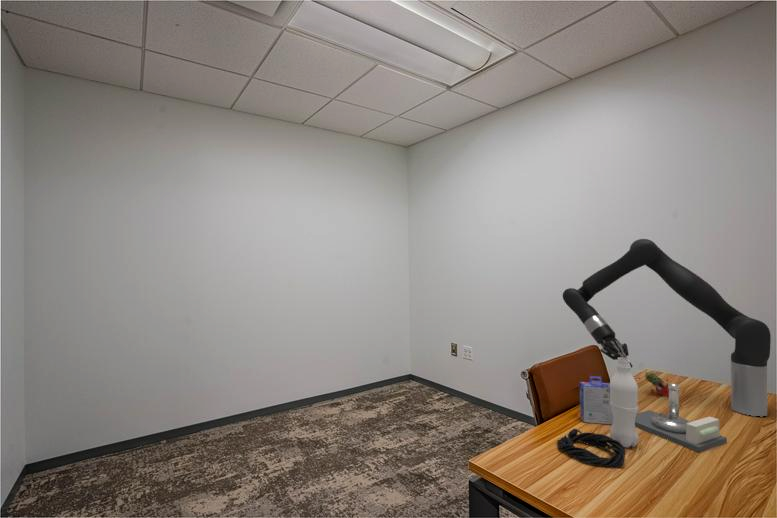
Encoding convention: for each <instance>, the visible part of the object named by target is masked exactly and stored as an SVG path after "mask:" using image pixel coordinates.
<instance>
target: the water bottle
mask: <svg viewBox="0 0 777 518" xmlns="http://www.w3.org/2000/svg"><path fill="white" fill-rule="evenodd" d="M629 363H631V362H630V358H628V357H627V358H623V357H619V358H618V360H617V362H616V371H615V373H614V374H613V376H612V378H611V379H610V381H609V383H610V406H611V408H612V412H613V423H612V424H611V426H610V427H609V435H610V436H609V437H610V438H612V439H614V440H616V441H618V442H620V443H621V444H622V445H623V447H624V448H631V447H633V448H634V447H636V445H637V444H638V442H639V434H638V432H637V427H635V417H636V414H637V413H639V405H638V403H639V402H638V401H639V399H638V398H639V385H638V383H637V381H636V379H635V378H634V376H633V374H632V372H631V369H632V367H631V366H630V364H629Z"/></svg>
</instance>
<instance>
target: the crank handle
mask: <svg viewBox="0 0 777 518" xmlns="http://www.w3.org/2000/svg"><path fill="white" fill-rule="evenodd" d="M668 388H669V396H668V413H659V412H657V413H658V414H653V415H652V424H653V425H654V426H656V427H657V428H660V429H662V430H665V431H668V432H672V433H679V434H686V423H690V422H691V421H690V420H688V419H686V418H684V417H681V416H680V408H679V407H680V402H679V401H680V394H679V392H680V386H679V385H678V384H677V383H675V382H672V383H669V384H668Z"/></svg>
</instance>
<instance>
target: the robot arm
mask: <svg viewBox="0 0 777 518" xmlns="http://www.w3.org/2000/svg"><path fill="white" fill-rule="evenodd" d="M643 266H646V267H648V268H649V269H650V270H652V271H653V272H655V273H656V274H657V276H659V277H660V278H661V279H662V280H663V282H665V284H667V285H668V287H670V289H672V290H673V291H674V292H675V293H676V294H678V295H679V296H680V297H681V298H682V299H684V300H685V301H686V302H688V303H689V304H691V306H693V307H695V308H696V309H697V310H699V311H700V312H703V313H704V314H706V315H707V316H709V317H710V318H711V319H712V320H714V321H715V323H717V324H718V326H720V327H721V328H723V330H724V331H725V332H726V333H727V334H728V335H729V336H730V337H731V338H732V339H734V340H735V341H734V342H735V343H734V351H733V352H731V354H730V395H731V396H730V409H731V410H732V411H734V412H736V413H738V412H739V413H738V414H741V413H742V415H745V414H746V415H745V416H749V415H751V416H750V417H756V416H760V417H759V418H764V417H763V416H766V417H767V416H768V360H769V359H770V355H771V336H772V335H771V330H770V328H769V327H768V325H767V324H766V323H764V322H763V321H761V320H758V319H756V318H751V317H749V316H748V315H746V314H744V313H743V312H741V311H739V310H738V309H737V308H734V307H733V306H732V305H730V304H729V303H728V302H727V301H726V300H725V299H724V298H723V297H722V296H721V294H720V293H719V292H718V291H717V290H716V289H715V287H713V286H712V285H711V284H709V282H707V281H705V279H703V278H702V277H701V276H699V275H698V274H696V273H694V271H691V270H690V269H689V268H686V266H683V265H682V264H680V263H679V262H677V261H675V260H674V259H672V258H671V257H670V256H669V255H667V254H666V253H665V252H664V251H663V250H662V249H661V248H660V247H659V246H658V245H657V244H656V243H655V242H654V241H652V240H650V239H648V238H640V239H636V240H635V241H633V242H632V243H631V244H630V246H629V250H627V252H625V253H624V255H622V256H621V257H620V258H619V259H618V258H617V260H616V261H614V262H613V263H611V264H608V265H607V266H605V267H603V268H601V269H600V270H598V271H596V272H594V273H593V274H591V275H590V276H588V278H586V279H584V280H583V281H582V282H581V283H582V286H581V287H579V288H578V289H576V288H573V287H570V288H569V287H568V288H567V289H565V290H564V291H563V292H562V299H563V301H564V303H565V304H566V306H568V308H569V309H570V310H572V311H573V313H575V315H576V316H577V317H578V319H579V320H580V322H582V324H583V326H584V327H585V329H586V330H587V332H588V333H589V334H590V335H591V337H592V338H593V339H594V341H595V342H596V343H597V345H601V348H600V352H601V353H603V354H604V355H605V356H607V357H609V358H610V359H612V360H614V361H615V360H617V361H618V358H619V357H623V358H628V356H630V354H629V348H628V344H627V343H622V342H620V341H619V339H618V338H616V332H615V331H614V330H613V329H612V327H611V326H610V325H609V324H608V323H607V321H606V320H605V319H604V318H603V317H601V315H600V314H599V313H598V311H597V310H596V308H595V307H593V306H592V305H591V304H590V303H588V302H589V301H590V300H592V298H593V297H595V295H597V294H598V293H599V292H601V291H603V290H604V289H606V288H607V287H609V286H611V284H613V283H615V282H617V281H618V280H620V279H621V278H623V277H624V276H625V275H628V274H629V273H631V272H633V271H635V270H637V269H640V268H642V267H643ZM629 364H630V366H631V368H633V365H632V362H630V363H629Z"/></svg>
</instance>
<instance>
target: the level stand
mask: <svg viewBox="0 0 777 518" xmlns="http://www.w3.org/2000/svg"><path fill="white" fill-rule="evenodd" d="M658 413H659V412H656V411H653V410H649V409H648V410H645V411H640V412H637V414H636V417H635V428H636V429H640V430H642V431H645V432H647V433H649V434H652V435H655V436H657V435H658V437H659V436H660V438H662V437H663V438H662V439H664V438H666V439H665V440H667V439H668V440H667V441H669V440H670V441H669V442H672V441H673V442H672V443H674V442H675V443H674V444H676V443H677V445H679V446H681V447H684V448H686V449H689V450H692V451H694V452H696V453H703V452H704V451H708V450H710V449H713V448H716V447H719V446H722V445H724V444H727V437H725V436H723V435H722V434H721V435H720V419H719V418H716V417H712V416H707V417H703V418H700V419H696V420H693V421H690V423H686V434H679V433H672V432H668V431H665V430H662V429H660V428H657V427H656V426H654V425H653V424H652V415H653V414H658Z"/></svg>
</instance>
